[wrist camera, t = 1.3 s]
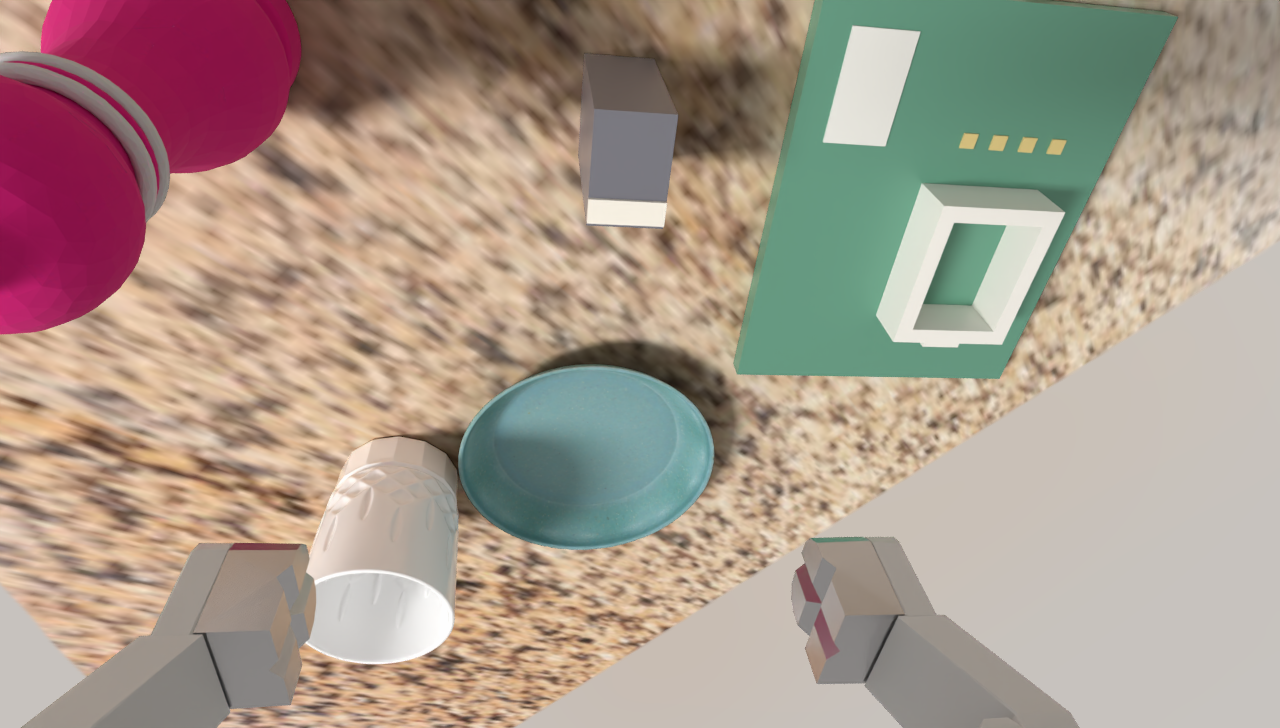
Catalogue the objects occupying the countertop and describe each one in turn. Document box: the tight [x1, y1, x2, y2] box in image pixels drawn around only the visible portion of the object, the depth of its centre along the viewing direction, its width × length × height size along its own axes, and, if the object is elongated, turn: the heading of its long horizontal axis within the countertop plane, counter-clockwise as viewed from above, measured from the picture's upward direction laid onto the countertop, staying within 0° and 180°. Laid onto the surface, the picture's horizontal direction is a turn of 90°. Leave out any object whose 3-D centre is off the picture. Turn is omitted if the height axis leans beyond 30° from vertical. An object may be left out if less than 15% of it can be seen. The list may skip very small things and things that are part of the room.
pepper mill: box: [0, 0, 301, 334], centre depth 22 cm, size 7×7×20 cm
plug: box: [578, 53, 678, 229], centre depth 31 cm, size 4×3×7 cm, turn 174°
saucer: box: [458, 364, 714, 550], centre depth 45 cm, size 15×15×3 cm
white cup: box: [305, 436, 459, 664], centre depth 42 cm, size 8×8×10 cm
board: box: [733, 0, 1178, 379], centre depth 37 cm, size 20×16×4 cm
